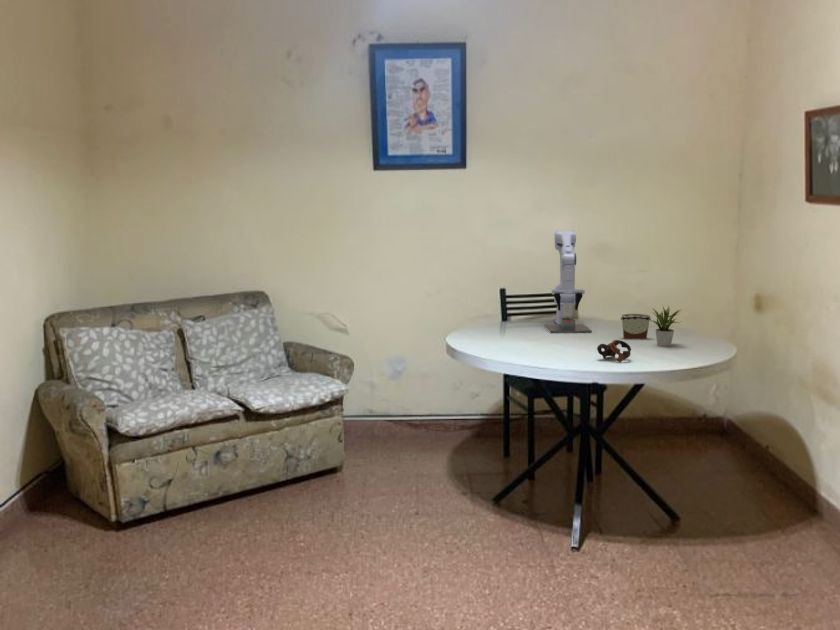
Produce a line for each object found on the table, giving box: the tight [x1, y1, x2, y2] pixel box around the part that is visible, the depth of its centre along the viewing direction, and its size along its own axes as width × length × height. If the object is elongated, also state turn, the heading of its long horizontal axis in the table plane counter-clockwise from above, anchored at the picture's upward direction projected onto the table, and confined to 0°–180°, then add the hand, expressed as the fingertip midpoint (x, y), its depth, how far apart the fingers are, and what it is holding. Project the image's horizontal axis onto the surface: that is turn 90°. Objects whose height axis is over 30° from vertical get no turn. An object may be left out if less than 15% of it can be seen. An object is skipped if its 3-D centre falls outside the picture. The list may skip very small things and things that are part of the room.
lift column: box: [563, 303, 573, 319], centre depth 336 cm, size 3×3×8 cm
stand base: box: [543, 317, 592, 334], centre depth 337 cm, size 18×18×6 cm
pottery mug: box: [596, 339, 632, 363], centre depth 272 cm, size 12×10×8 cm
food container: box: [620, 313, 652, 340], centre depth 314 cm, size 12×6×10 cm, turn 84°
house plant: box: [649, 304, 683, 347], centre depth 296 cm, size 14×14×16 cm
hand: (567, 310), depth 336 cm, fingers open, 7 cm apart
